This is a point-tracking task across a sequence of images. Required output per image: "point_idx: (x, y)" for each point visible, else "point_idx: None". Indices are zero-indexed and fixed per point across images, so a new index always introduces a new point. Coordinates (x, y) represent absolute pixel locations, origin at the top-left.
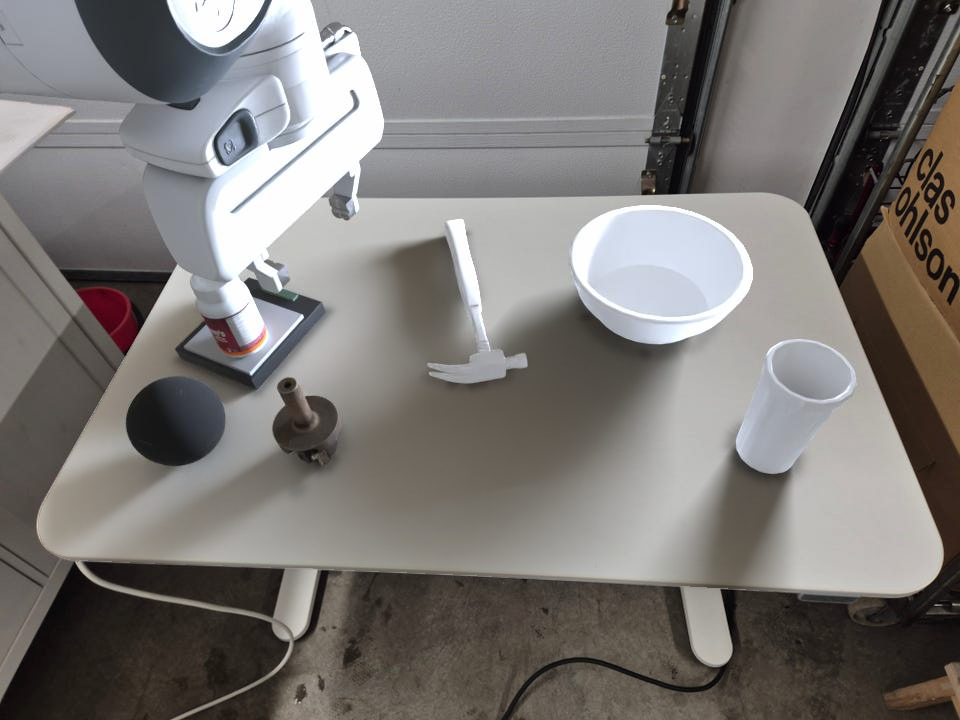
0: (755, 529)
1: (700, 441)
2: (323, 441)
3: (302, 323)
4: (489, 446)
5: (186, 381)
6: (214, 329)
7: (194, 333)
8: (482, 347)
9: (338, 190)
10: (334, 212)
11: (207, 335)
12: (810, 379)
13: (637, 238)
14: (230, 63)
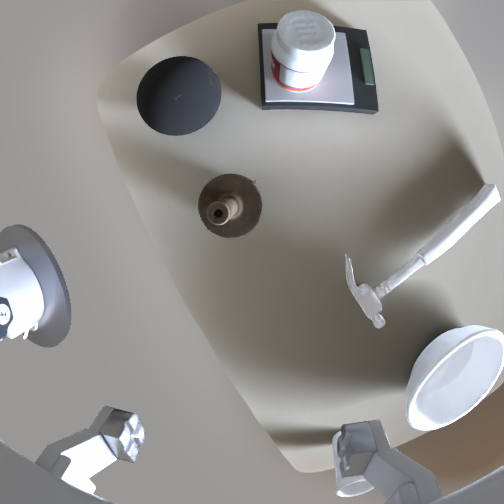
0: (299, 441)
1: (344, 417)
2: (220, 235)
3: (346, 107)
4: (298, 327)
5: (195, 86)
6: (271, 55)
7: None
8: (382, 291)
9: (377, 463)
10: (344, 433)
11: None
12: None
13: (487, 346)
14: None
